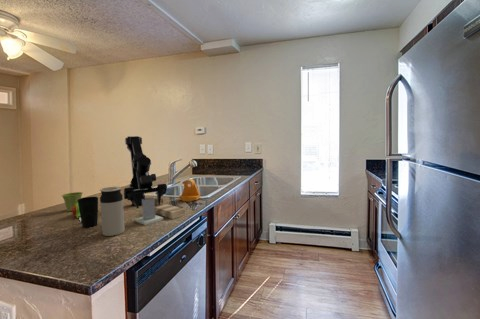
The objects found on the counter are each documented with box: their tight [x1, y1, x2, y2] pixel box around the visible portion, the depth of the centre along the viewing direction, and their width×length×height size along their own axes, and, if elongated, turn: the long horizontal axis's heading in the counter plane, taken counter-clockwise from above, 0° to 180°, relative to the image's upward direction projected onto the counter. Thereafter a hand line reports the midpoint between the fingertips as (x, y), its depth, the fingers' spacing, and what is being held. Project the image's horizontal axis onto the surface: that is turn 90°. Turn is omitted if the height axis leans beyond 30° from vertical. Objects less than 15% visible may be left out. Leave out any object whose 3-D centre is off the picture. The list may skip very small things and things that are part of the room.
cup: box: [78, 196, 99, 229], centre depth 111 cm, size 8×8×12 cm
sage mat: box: [134, 214, 164, 226], centre depth 117 cm, size 9×9×1 cm
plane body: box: [153, 197, 186, 220], centre depth 128 cm, size 20×7×6 cm, turn 49°
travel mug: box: [99, 186, 126, 237], centre depth 102 cm, size 8×8×18 cm
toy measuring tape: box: [71, 203, 82, 224], centre depth 123 cm, size 6×19×7 cm, turn 35°
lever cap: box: [141, 197, 156, 220], centre depth 117 cm, size 4×5×9 cm
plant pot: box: [61, 191, 83, 212], centre depth 138 cm, size 9×9×9 cm
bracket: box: [178, 178, 201, 202], centre depth 154 cm, size 11×7×12 cm, turn 82°
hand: (148, 206), depth 116 cm, fingers open, 9 cm apart
